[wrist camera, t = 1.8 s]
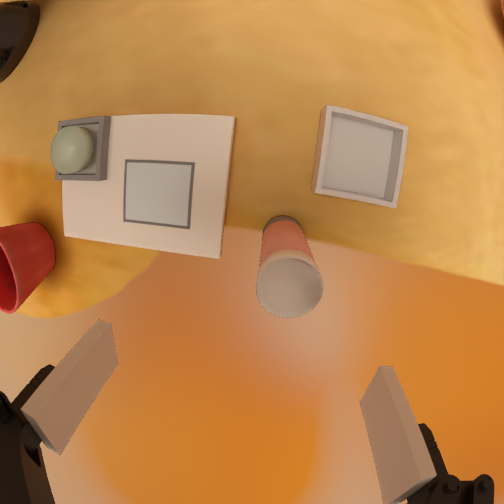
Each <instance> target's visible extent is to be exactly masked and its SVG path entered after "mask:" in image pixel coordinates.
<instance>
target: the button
mask: <svg viewBox="0 0 504 504" xmlns="http://www.w3.org/2000/svg"><path fill="white" fill-rule="evenodd" d="M93 152H94V141H93V137H92V135H91V133H90V132H89V130H88V129H86V128H84V127H80V126H66V127H64V128H62V129H61V130H60V131H59V132H58V133H57V134H56V136H55V137H54V139H53V142H52V146H51V160H52V163H53V166H54V168H55V169H56V170H57V171H58V172H59V173H62V174H70V173H76V172H80V171H82V170H84V169H85V168H86V167H87V166H88V164H89V163H90V161H91V159H92V156H93Z"/></svg>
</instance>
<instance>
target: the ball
mask: <svg viewBox="0 0 504 504" xmlns="http://www.w3.org/2000/svg"><path fill="white" fill-rule="evenodd" d="M500 2H501V9H502V14H503V18H504V0H500Z"/></svg>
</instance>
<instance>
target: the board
mask: <svg viewBox="0 0 504 504" xmlns="http://www.w3.org/2000/svg"><path fill="white" fill-rule="evenodd" d="M235 121H236V118H235V117H234V116H221V115H202V114H138V115H120V116H98V117H88V118H80V119H73V120H66V121H59V124H58V132H59V131H60V130H61V129H62V128H64V127H66V126H80V127H84V128H86V129H88V130H89V132H90V133H91V135H92V137H93V141H94V152H93V156H92V159H91V161H90V163H89V164H88V166H87V167H86V168H85V169H84V170H82V171H80V172H76V173H70V174H62V173H59V172H58V171H57V170H56V176H55V180H62V202H63V223H64V236H67V237H74V238H80V239H87V240H93V241H99V242H106V243H113V244H119V245H126V246H132V247H139V248H146V249H153V250H159V251H166V252H174V253H180V254H187V255H194V256H201V257H208V258H215V259H220V257H221V253H222V242H223V230H224V220H225V210H226V200H227V190H228V181H229V172H230V163H231V154H232V145H233V137H234V129H235Z"/></svg>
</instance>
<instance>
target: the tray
mask: <svg viewBox="0 0 504 504" xmlns="http://www.w3.org/2000/svg"><path fill="white" fill-rule="evenodd" d="M408 127H409V126H406V125H403V124H400V123H396V122H393V121H390V120H387V119H383V118H380V117H376V116H373V115H369V114H365V113H361V112H357V111H353V110H349V109H345V108H341V107H336V106H331V105H326V106H325V107H324V108H323V109H322V110H321V117H320V125H319V133H318V141H317V148H316V156H315V163H314V170H313V177H312V183H311V190H312V191H313V192H315V193H318V194H324V195H330V196H335V197H341V198H346V199H352V200H357V201H362V202H367V203H372V204H377V205H381V206H386V207H391V208H395V209H396V207H397V202H398V196H399V191H400V185H401V180H402V174H403V167H404V160H405V153H406V145H407V136H408Z"/></svg>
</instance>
